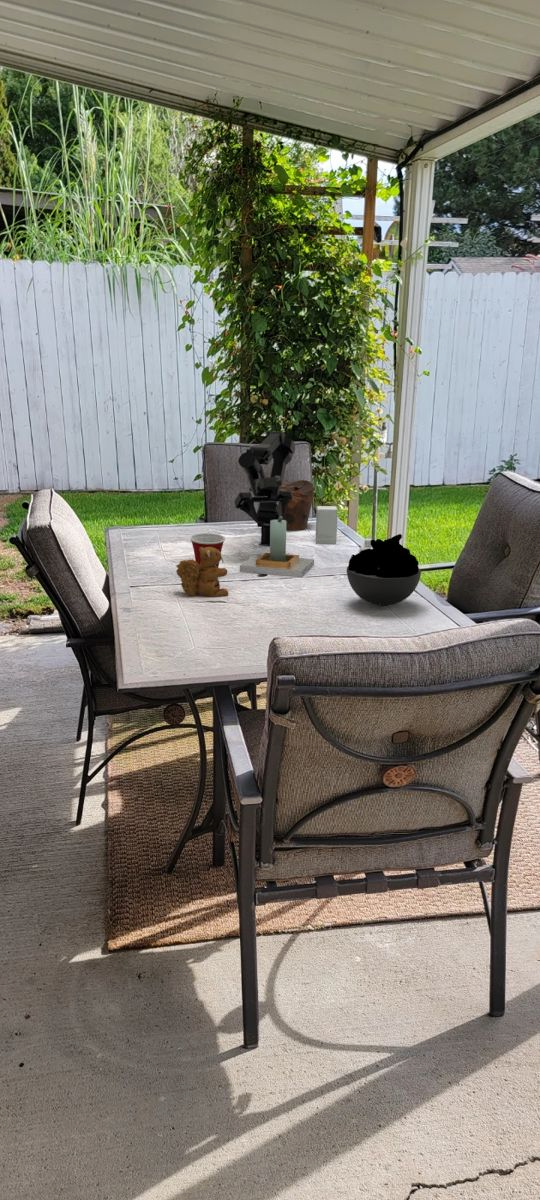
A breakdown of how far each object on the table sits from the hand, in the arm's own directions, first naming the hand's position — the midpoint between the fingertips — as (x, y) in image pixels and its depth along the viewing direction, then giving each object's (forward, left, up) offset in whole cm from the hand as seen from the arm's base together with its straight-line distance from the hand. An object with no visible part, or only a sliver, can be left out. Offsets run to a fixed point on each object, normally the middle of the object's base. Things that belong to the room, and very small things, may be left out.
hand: (270, 521), depth 280 cm
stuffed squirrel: (-8, -43, -14) cm, 45 cm away
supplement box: (+11, +36, -14) cm, 40 cm away
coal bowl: (+43, -38, -14) cm, 59 cm away
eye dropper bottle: (+33, -4, -14) cm, 36 cm away
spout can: (+5, -8, -11) cm, 14 cm away
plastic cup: (-13, -23, -14) cm, 30 cm away
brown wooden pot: (-8, +57, -14) cm, 59 cm away
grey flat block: (+5, -8, -13) cm, 16 cm away
